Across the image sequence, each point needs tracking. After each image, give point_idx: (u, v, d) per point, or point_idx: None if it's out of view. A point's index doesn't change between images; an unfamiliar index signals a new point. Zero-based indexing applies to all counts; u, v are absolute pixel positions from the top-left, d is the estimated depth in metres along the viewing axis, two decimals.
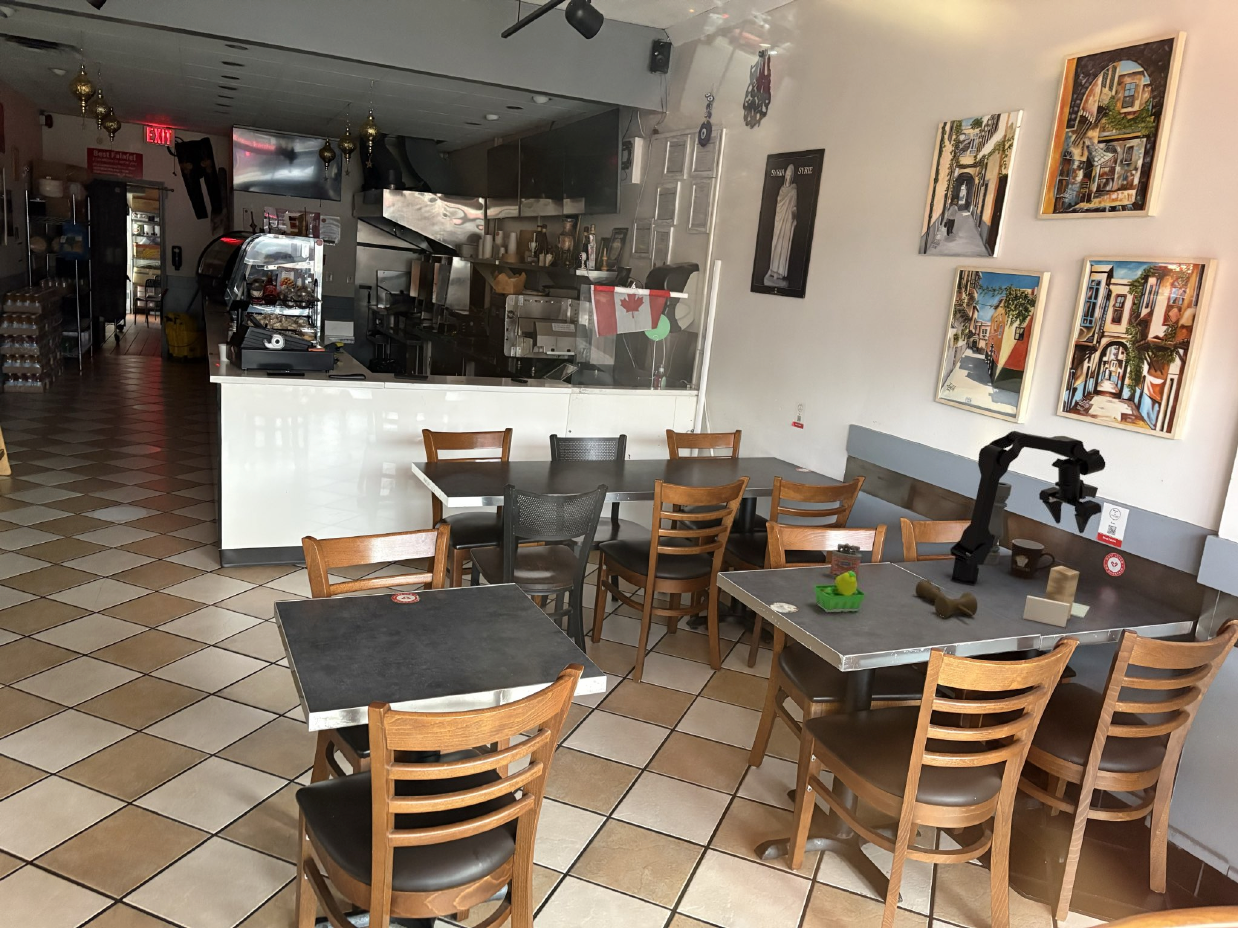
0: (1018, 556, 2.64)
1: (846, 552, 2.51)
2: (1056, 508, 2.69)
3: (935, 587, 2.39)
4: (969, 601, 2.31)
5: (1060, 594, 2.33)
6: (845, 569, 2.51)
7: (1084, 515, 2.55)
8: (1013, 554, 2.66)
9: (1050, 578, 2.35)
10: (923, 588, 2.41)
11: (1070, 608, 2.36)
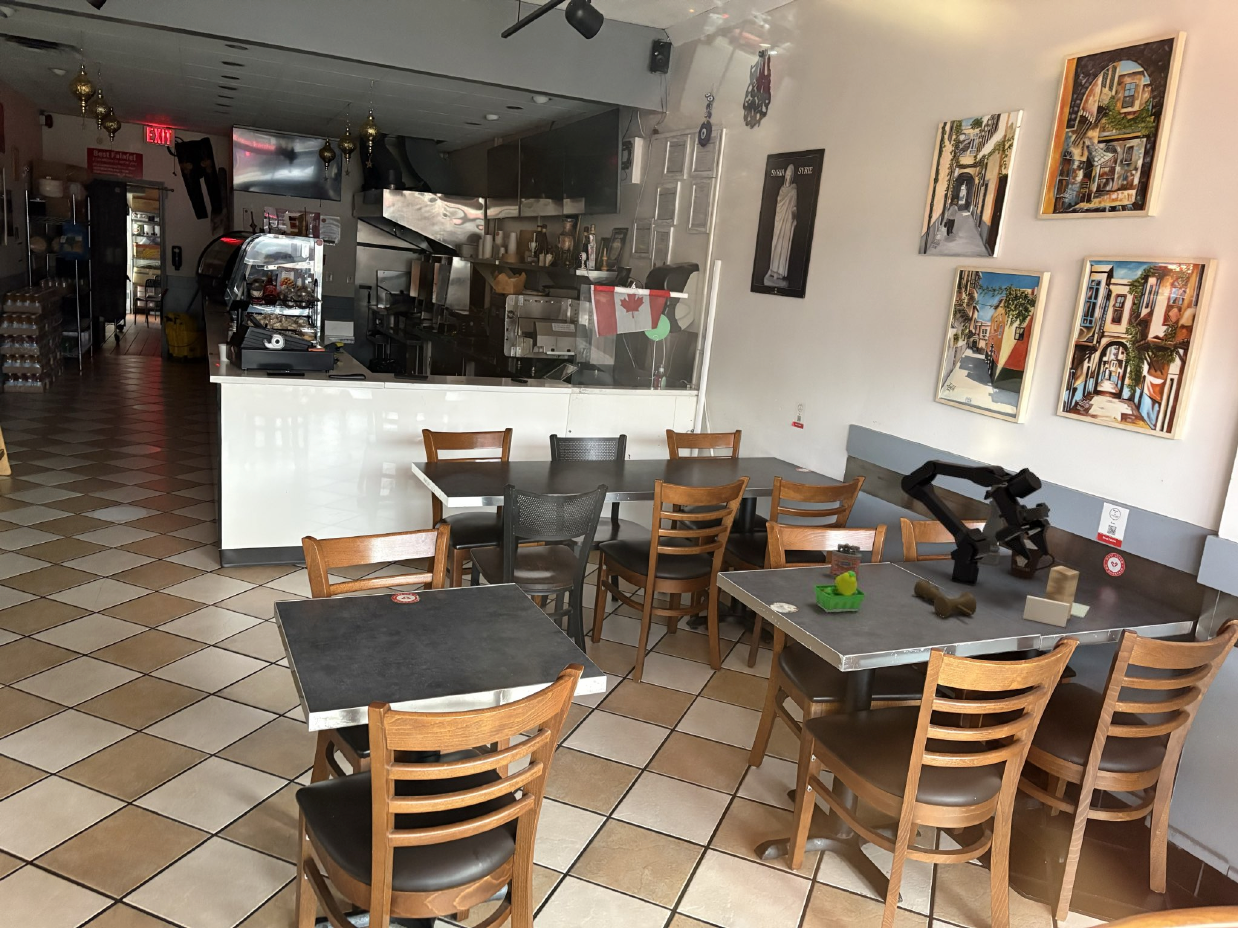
0: (1018, 556, 2.64)
1: (846, 552, 2.51)
2: (1037, 540, 2.46)
3: (933, 586, 2.39)
4: (968, 600, 2.31)
5: (1060, 594, 2.33)
6: (845, 569, 2.51)
7: None
8: (1013, 554, 2.66)
9: (1050, 578, 2.35)
10: (922, 588, 2.41)
11: (1070, 608, 2.36)
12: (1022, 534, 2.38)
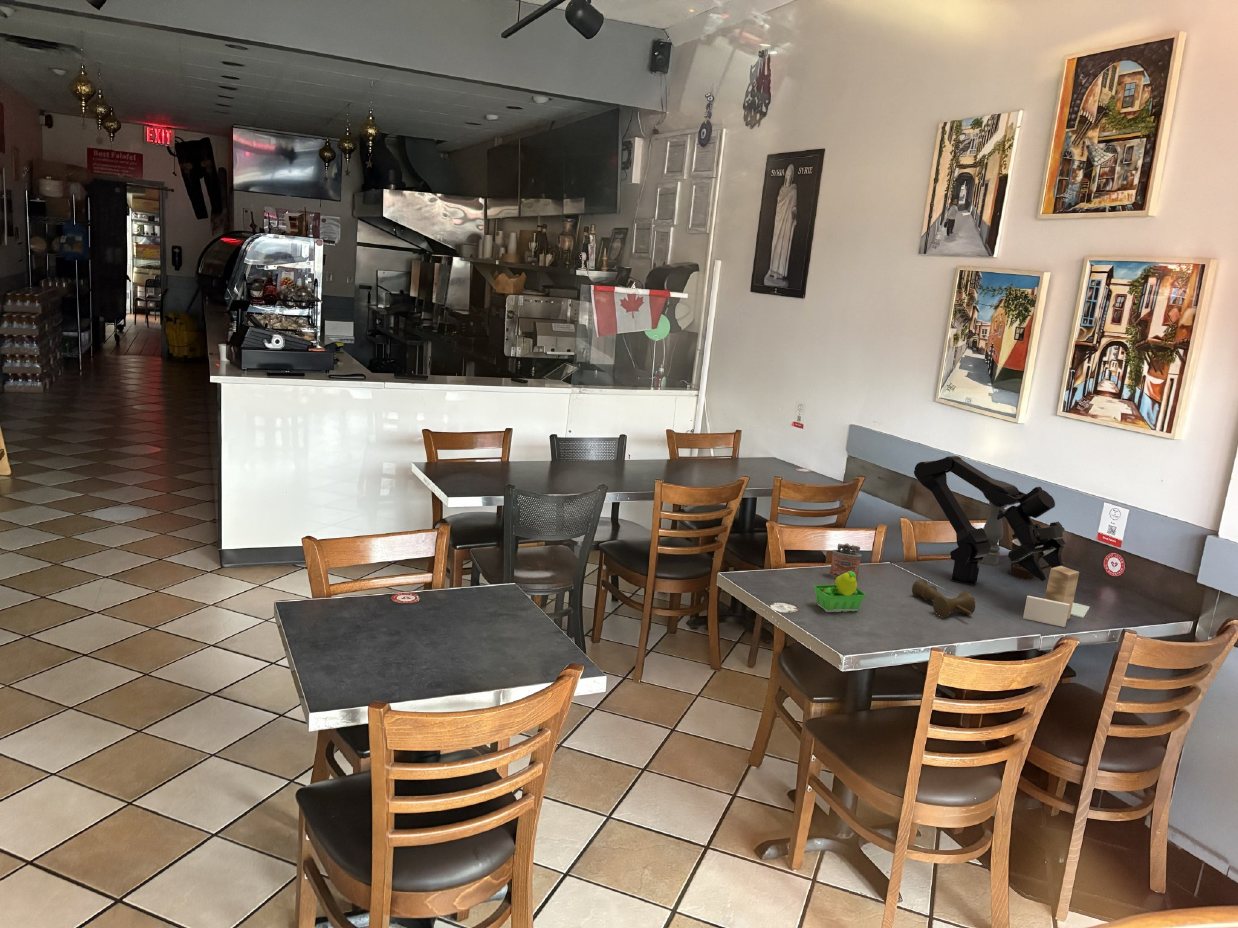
0: None
1: (846, 552, 2.51)
2: (1053, 559, 2.42)
3: (931, 586, 2.39)
4: (967, 600, 2.31)
5: (1060, 594, 2.33)
6: (845, 569, 2.51)
7: (1011, 561, 2.37)
8: None
9: (1050, 578, 2.35)
10: (920, 588, 2.41)
11: (1070, 608, 2.36)
12: (1035, 554, 2.34)
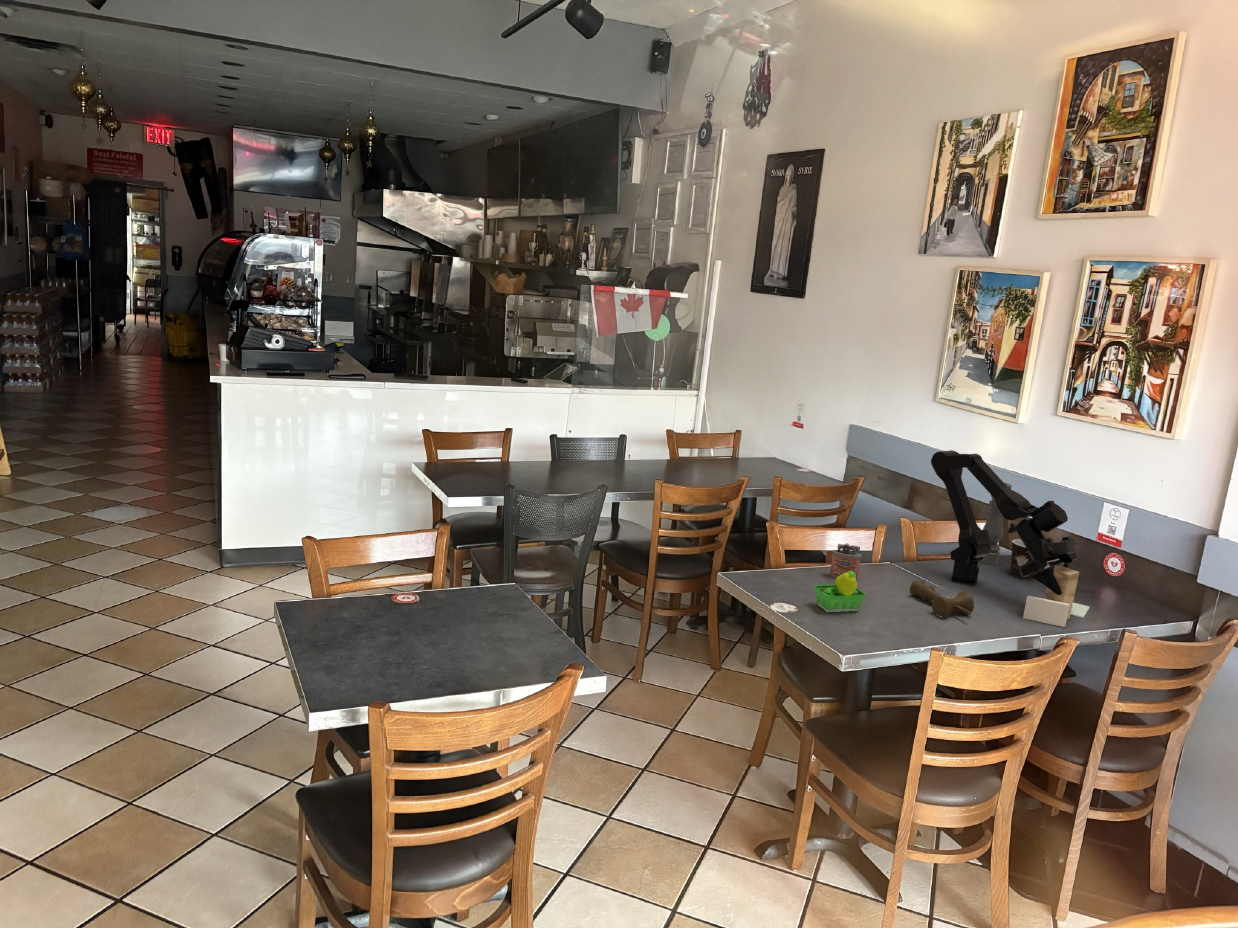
0: (1018, 556, 2.64)
1: (846, 552, 2.51)
2: None
3: (930, 586, 2.39)
4: (966, 600, 2.31)
5: None
6: (845, 569, 2.51)
7: None
8: (1013, 554, 2.66)
9: None
10: (918, 588, 2.41)
11: (1070, 608, 2.36)
12: (1052, 568, 2.33)
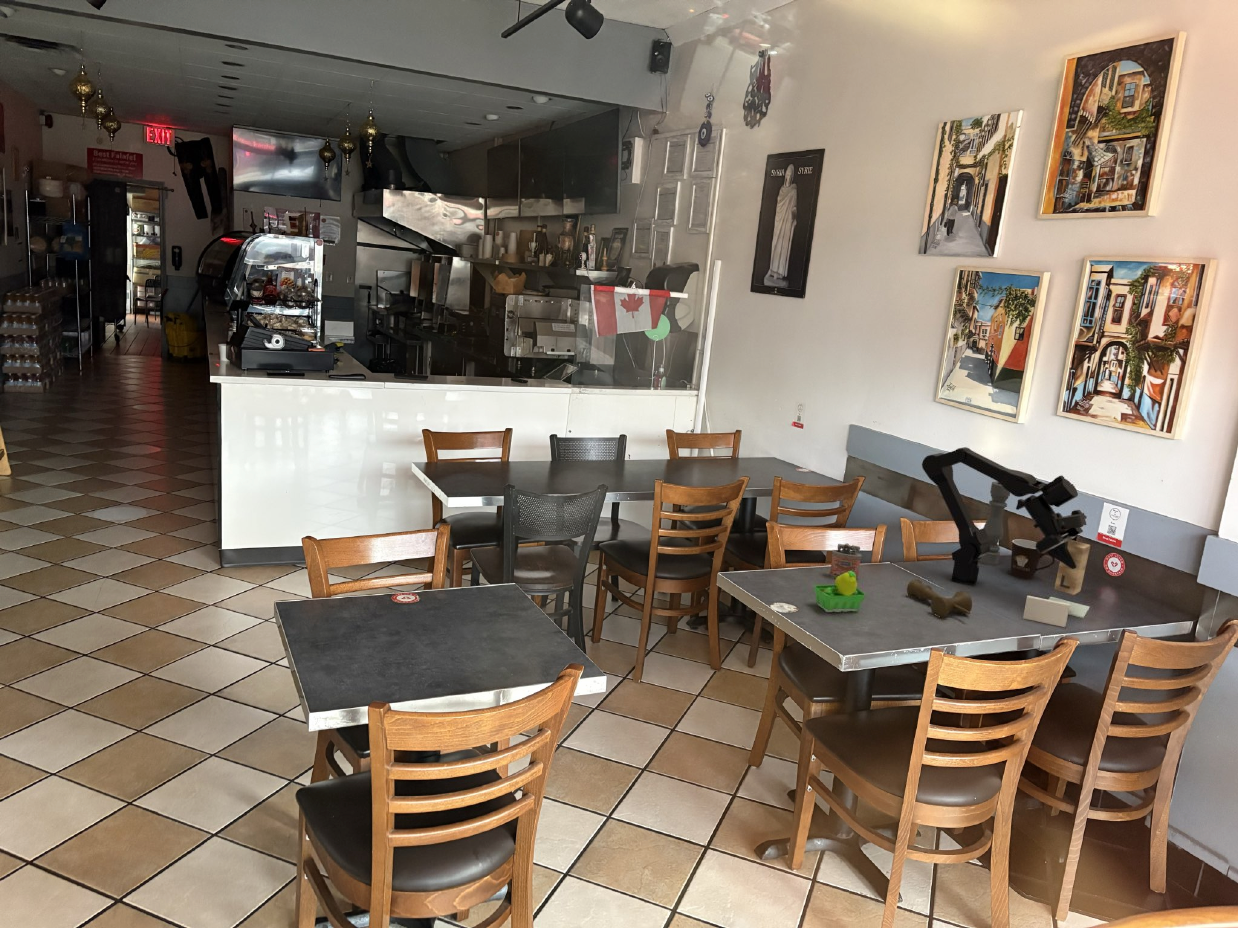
0: (1018, 556, 2.64)
1: (846, 552, 2.51)
2: None
3: (927, 586, 2.39)
4: (964, 599, 2.31)
5: None
6: (845, 569, 2.51)
7: (1039, 552, 2.35)
8: (1013, 554, 2.66)
9: None
10: (915, 588, 2.41)
11: (1081, 581, 2.38)
12: (1066, 542, 2.34)
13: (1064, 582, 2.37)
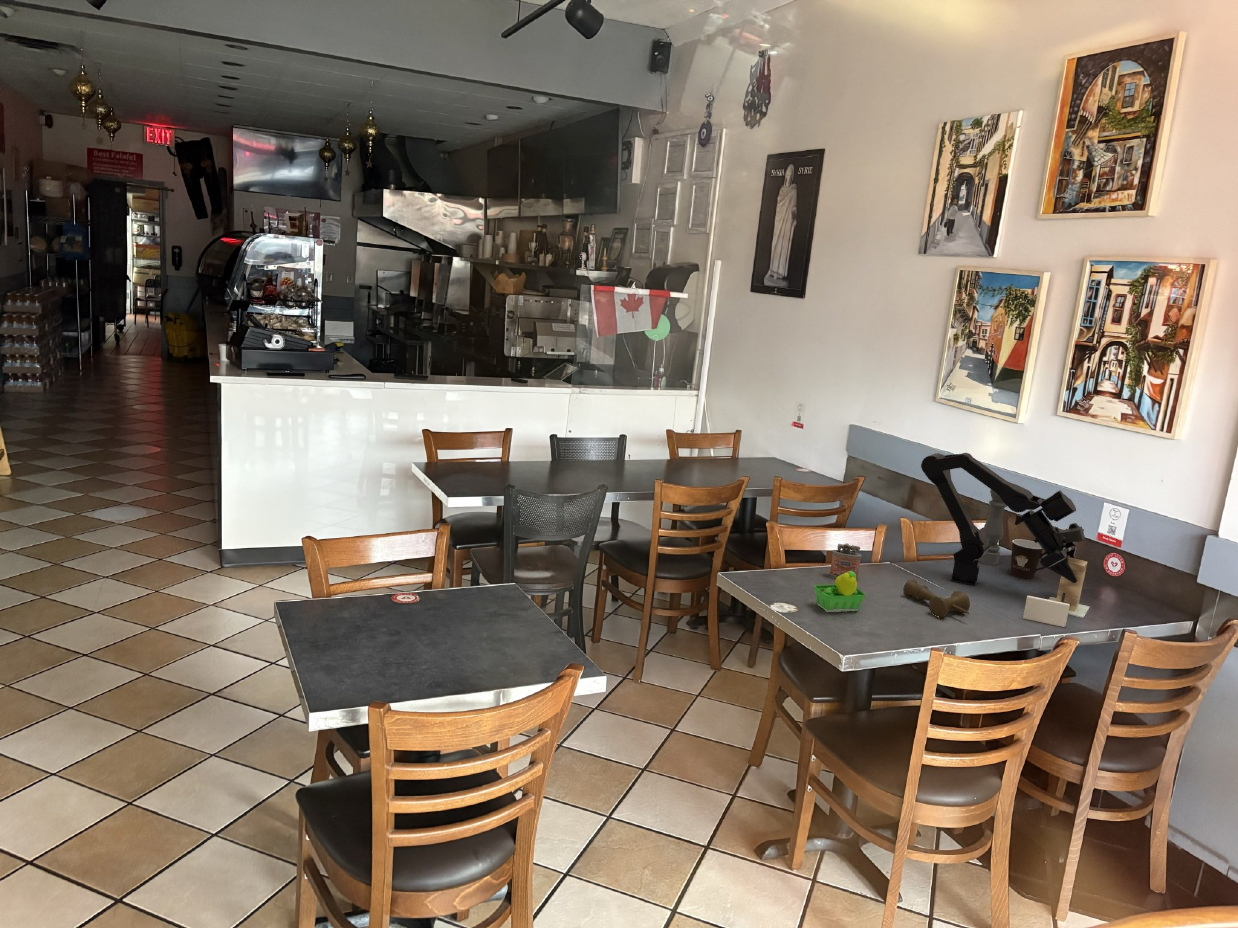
0: (1018, 556, 2.64)
1: (846, 552, 2.51)
2: None
3: (924, 586, 2.39)
4: (962, 599, 2.32)
5: (1075, 585, 2.40)
6: (845, 569, 2.51)
7: (1044, 567, 2.38)
8: (1013, 554, 2.66)
9: None
10: (912, 588, 2.40)
11: (1079, 597, 2.44)
12: (1068, 557, 2.37)
13: (1064, 600, 2.42)
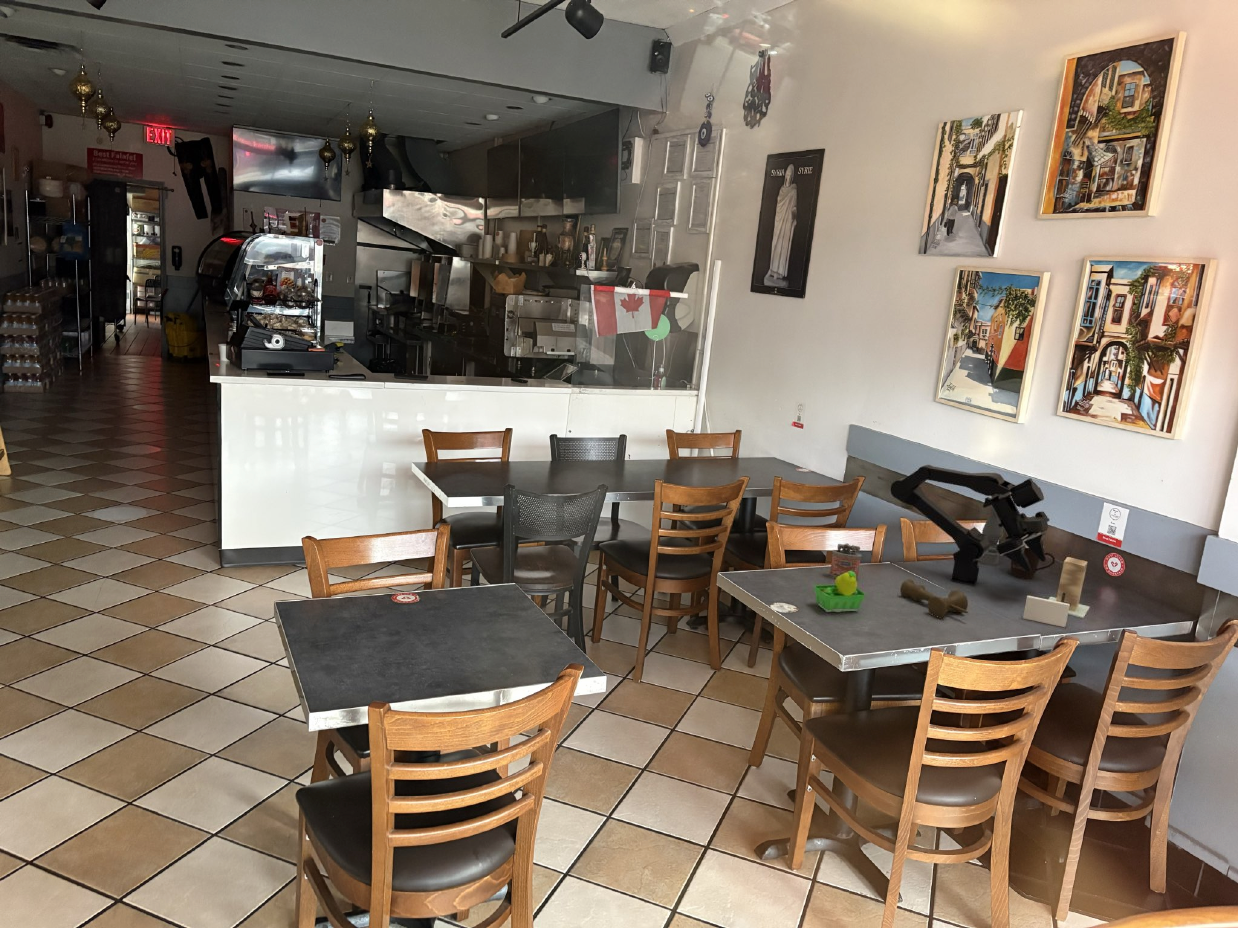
0: None
1: (846, 552, 2.51)
2: (1034, 545, 2.51)
3: (921, 586, 2.39)
4: (960, 598, 2.32)
5: (1075, 585, 2.40)
6: (845, 569, 2.51)
7: (999, 553, 2.45)
8: None
9: (1063, 570, 2.41)
10: (909, 588, 2.40)
11: (1079, 597, 2.44)
12: (1023, 547, 2.42)
13: (1064, 600, 2.42)
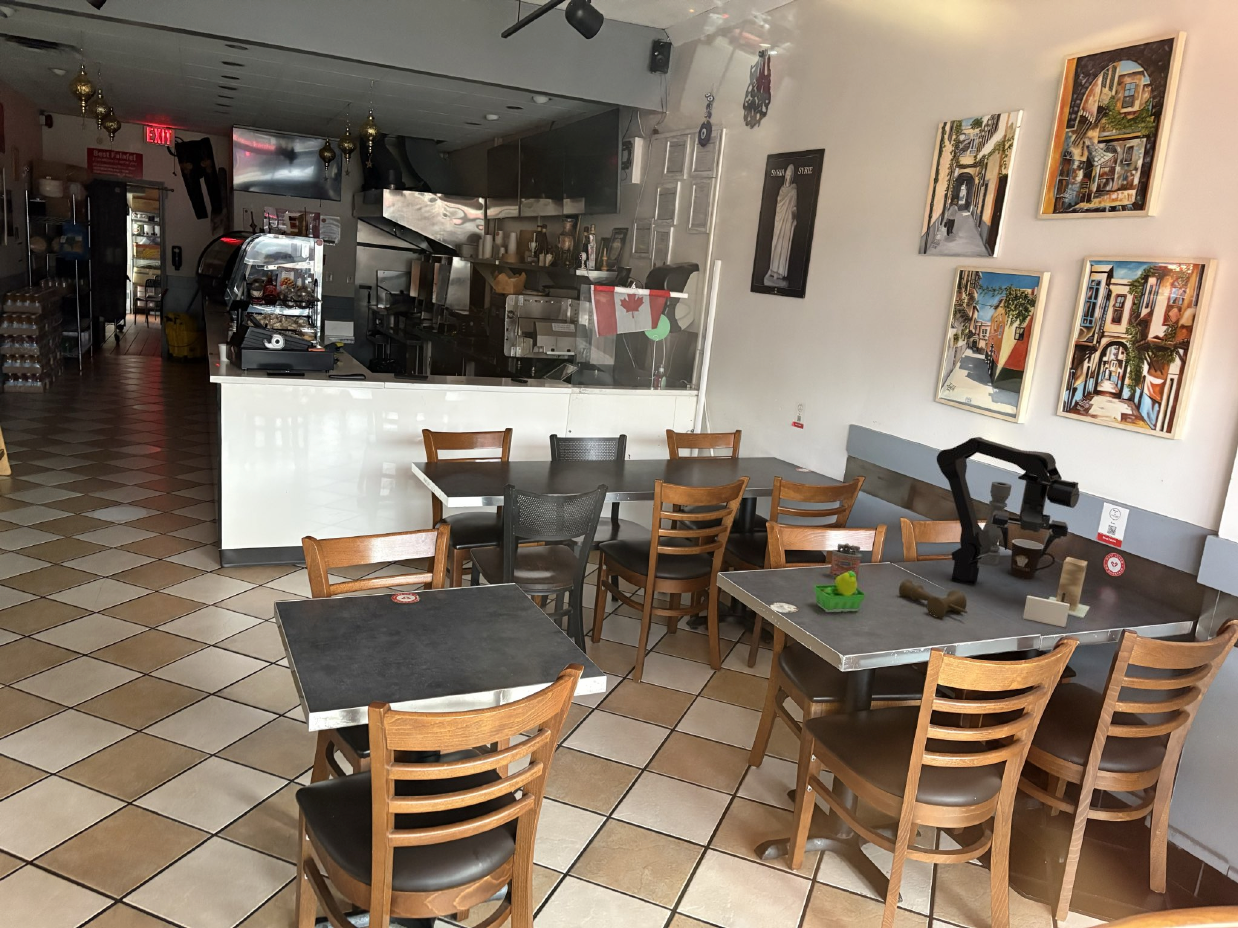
0: (1018, 556, 2.64)
1: (846, 552, 2.51)
2: (1046, 539, 2.44)
3: (919, 586, 2.39)
4: (959, 598, 2.32)
5: (1075, 585, 2.40)
6: (845, 569, 2.51)
7: None
8: (1013, 554, 2.66)
9: (1063, 570, 2.41)
10: (908, 589, 2.40)
11: (1079, 597, 2.44)
12: (1003, 528, 2.44)
13: (1064, 600, 2.42)
